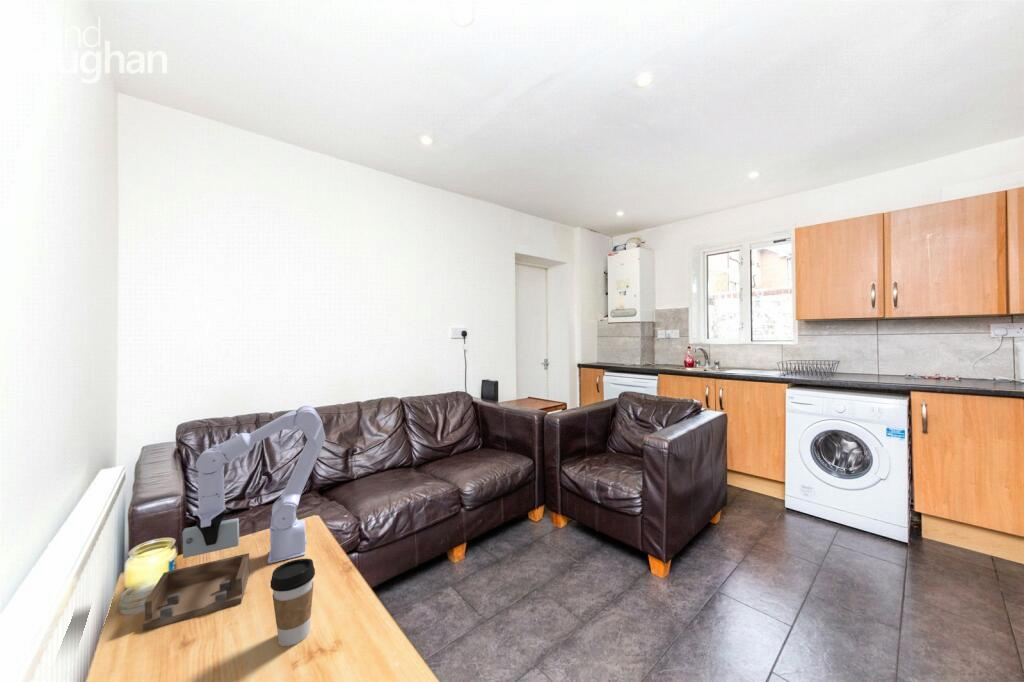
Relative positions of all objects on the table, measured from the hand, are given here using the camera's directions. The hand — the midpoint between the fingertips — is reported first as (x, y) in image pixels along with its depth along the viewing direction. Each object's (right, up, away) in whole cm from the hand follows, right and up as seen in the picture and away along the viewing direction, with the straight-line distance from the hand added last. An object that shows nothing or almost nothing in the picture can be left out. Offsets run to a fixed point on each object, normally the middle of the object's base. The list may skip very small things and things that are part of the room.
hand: (212, 541), depth 105 cm
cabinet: (+6, -9, -11) cm, 15 cm away
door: (0, -2, 0) cm, 2 cm away
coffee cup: (+36, -8, -23) cm, 43 cm away
